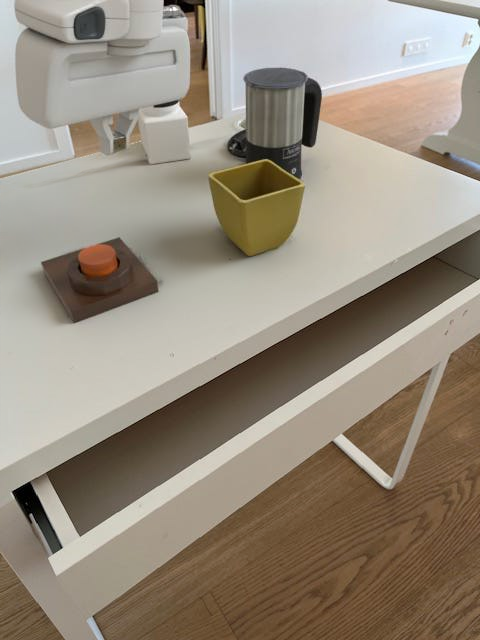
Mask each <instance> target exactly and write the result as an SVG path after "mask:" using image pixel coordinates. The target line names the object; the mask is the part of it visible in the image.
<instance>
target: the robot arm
mask: <svg viewBox="0 0 480 640" xmlns="http://www.w3.org/2000/svg"><path fill="white" fill-rule="evenodd" d="M164 4H165V3H164V0H14V7H13V8H14V15H15V18H16V20H17V22H18V23H19V24H21V25H23V26H25V27H27V28H25V29H23V30H22V31H21V32H20V34H19V36H18V37H17V41H16V44H15V51H14V52H15V53H14V61H15V63H14V64H15V66H14V67H15V68H14V69H15V84H16V94H17V95H16V96H17V102H18V106H19V109H20V111H21V112H22V114H24V116H25V117H27V118H28V119H29V120H30V121H32V122H34V123H35V124H38V125H40V126H42V128H45V129H49V130H51V129H57V128H60V127H65V126H70V125H75V124H78V123H83V122H87V121H89V123H90V124H91V127H92V128H93V130H94V131H95V133H96V135H97V142H98V143H97V144H98V146H97V147H98V150H99V151H100V153H102V154H104V155H106V156H111V155H114V154H118V153H120V152H123V151H127V150H130V138H131V135H132V132H133V130H134V128H135V126H136V124H137V122H138V117H139V109H140V108H145V107H149V106H154V105H158V104H163V103H167V102H171V101H176V100H179V101H180V100H183V99H185V97H186V96H187V94H188V91H189V90H190V82H191V44H190V37H189V35H188V31H189V20H188V18H187V16H186V14H185V13H184V11H183V10H182V9H181V7H180V6H179V5H176V4H168V5H164ZM115 115H118V117H117V119H116V123H115V125H114V129H113V130H111V128H110V126H111V125H113V124H114V116H115Z"/></svg>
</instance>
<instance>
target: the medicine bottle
mask: <svg viewBox="0 0 480 640" xmlns="http://www.w3.org/2000/svg"><path fill="white" fill-rule="evenodd" d="M137 122H138V129H139V135H140V143H141V145H142V147H143V149H144V151H145V153H146V154H145V157H146V159H147V162H148V163H149V164H150V165H156V164H163V163H169V162H170V163H171V162H176V161H183V160H189V159H191V157H192V155H191V142H190V132H189V118H188V116H187V114H186V113H185V111H184V110H183V108H182V107H181V106H180V100H176V101H171V102H167V103H163V104H158V105H154V106H149V107H145V108H140V109H139V117H138V120H137Z"/></svg>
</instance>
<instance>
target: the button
mask: <svg viewBox="0 0 480 640" xmlns="http://www.w3.org/2000/svg"><path fill="white" fill-rule="evenodd" d="M98 244H99V245H96V244H93V245H89V246H87V247H84V248H85V249H84V248H82V249H83V250H82V251H81V252H80V253H79V255H78V259H79V263H80V267H81V270H82V273H83V274H84V275H86V276H89V277H95V276H103V275H106V274H109V273H112V272H113V271H115V270H116V269H117V267H118V263H117V258H116V253H115V250H114V249H113V248H112V247H111V246H108V245H102V244H100V243H98Z"/></svg>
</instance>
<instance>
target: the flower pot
mask: <svg viewBox="0 0 480 640" xmlns="http://www.w3.org/2000/svg"><path fill="white" fill-rule="evenodd" d="M207 179H208V184H209V189H210V195H211V200H212V204H213V208H214V212H215V216H216V219H217V220H218V223H219V224H220V226H221V228H222V229H223V231H224V233H225V234H226V235H227V237H228V239H229V240H230V241H231V242H232V243H233V244H234V245H235V246H236V247H237V248H239V249H240V250H241V251H242V252H243V253H244V254H245V255H246V256H248V257H252V256H256V255H258V254H261V253H264V252H267V251H271V250H274V249H278V248H279V247H281V246H283V245H284V244H285V243H286V242H287V241H288V239H289V238H290V237H291V235H292V234H293V232H294V230H295V229H296V226H297V223H298V221H299V217H300V212H301V207H302V203H303V198H304V193H305V188H306V183H305V182H304V181H302V180H301V179H297V178H296V177H294V176H293V175H291V174H289V173H287V172H286V171H285V170H283V169H282V168H280V167H279V166H278V165H276V164H275V163H273V162H272V161H270V160H268V159H264V160H259V161H256V162H252V163H248V164H246V163H245V164H241V165H236V166H232V167H229V168H226V169H221V170H216V171H214V172H211V173H207Z"/></svg>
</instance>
